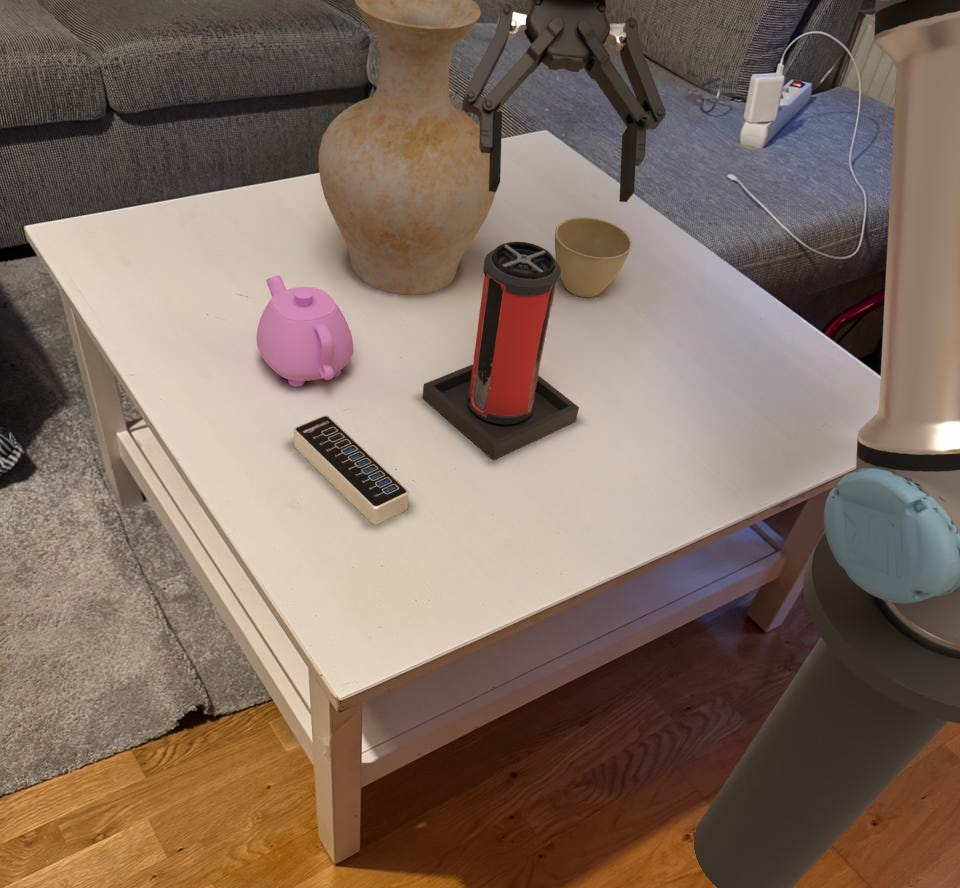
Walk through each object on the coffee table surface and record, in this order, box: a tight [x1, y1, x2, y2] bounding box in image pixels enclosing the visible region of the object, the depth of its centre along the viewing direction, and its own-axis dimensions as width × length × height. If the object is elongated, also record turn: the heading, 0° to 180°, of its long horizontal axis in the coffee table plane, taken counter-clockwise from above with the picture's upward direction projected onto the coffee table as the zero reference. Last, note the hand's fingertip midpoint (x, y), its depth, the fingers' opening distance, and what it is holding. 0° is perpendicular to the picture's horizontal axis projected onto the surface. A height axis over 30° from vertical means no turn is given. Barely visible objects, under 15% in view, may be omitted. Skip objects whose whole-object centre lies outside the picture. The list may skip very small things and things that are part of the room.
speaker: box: [467, 241, 561, 425], centre depth 97 cm, size 8×8×18 cm
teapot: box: [256, 274, 354, 387], centre depth 102 cm, size 10×15×9 cm
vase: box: [317, 0, 497, 296], centre depth 110 cm, size 22×22×30 cm
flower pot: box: [554, 216, 633, 298], centre depth 120 cm, size 10×10×7 cm
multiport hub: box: [293, 415, 409, 526], centre depth 94 cm, size 4×14×2 cm, turn 41°
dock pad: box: [422, 363, 580, 461], centre depth 104 cm, size 13×13×2 cm
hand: (561, 192), depth 92 cm, fingers open, 13 cm apart
